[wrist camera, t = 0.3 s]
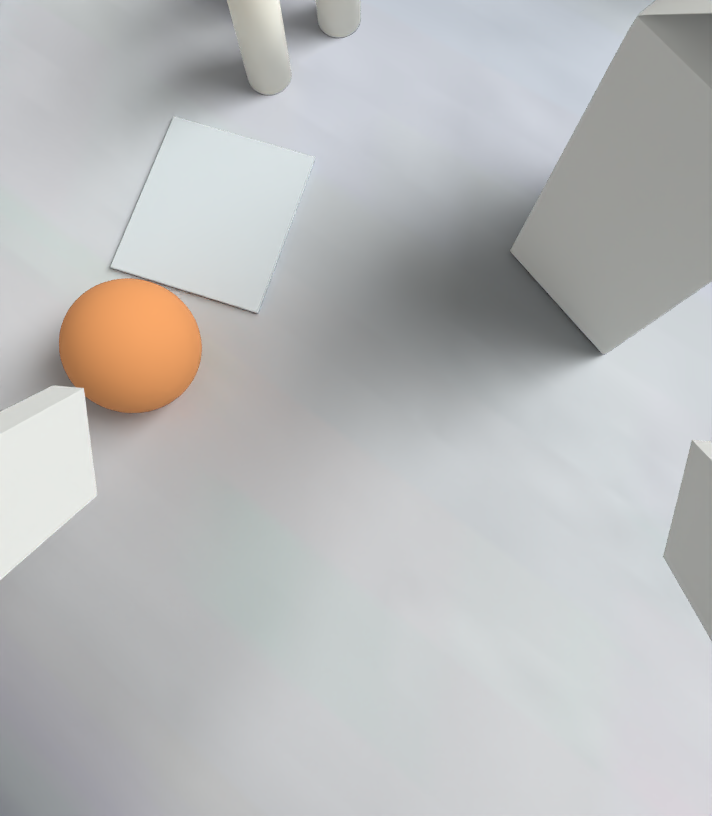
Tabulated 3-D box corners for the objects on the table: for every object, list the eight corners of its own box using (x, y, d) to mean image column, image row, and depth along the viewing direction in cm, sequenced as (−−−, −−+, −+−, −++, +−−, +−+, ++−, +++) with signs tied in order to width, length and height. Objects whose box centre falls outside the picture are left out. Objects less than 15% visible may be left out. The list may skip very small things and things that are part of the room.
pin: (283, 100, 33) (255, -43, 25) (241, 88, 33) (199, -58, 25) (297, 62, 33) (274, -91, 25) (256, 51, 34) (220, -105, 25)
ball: (190, 438, 30) (146, 418, 24) (77, 401, 30) (6, 372, 24) (232, 326, 31) (200, 279, 25) (122, 291, 31) (65, 238, 25)
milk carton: (706, 273, 31) (1232, -107, 12) (601, 357, 30) (989, 92, 11) (610, 173, 32) (957, -318, 13) (507, 252, 31) (719, -147, 12)
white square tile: (257, 313, 31) (257, 312, 31) (111, 268, 31) (110, 266, 31) (315, 159, 32) (314, 156, 32) (175, 118, 33) (173, 116, 33)
